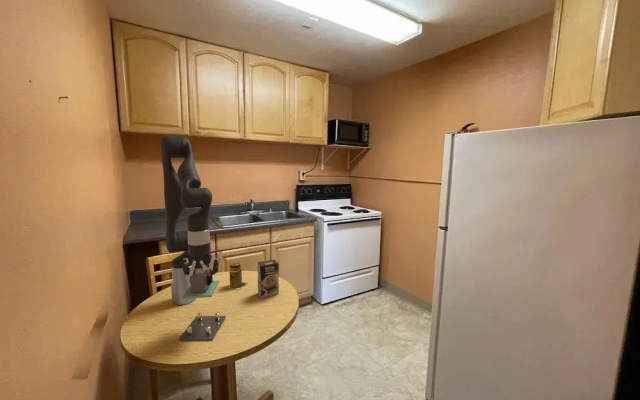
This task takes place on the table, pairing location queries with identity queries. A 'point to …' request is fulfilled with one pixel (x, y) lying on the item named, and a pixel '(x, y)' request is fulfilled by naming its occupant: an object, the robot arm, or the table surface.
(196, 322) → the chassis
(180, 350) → the table surface
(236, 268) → the condiment
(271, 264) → the coffee box
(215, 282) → the board
